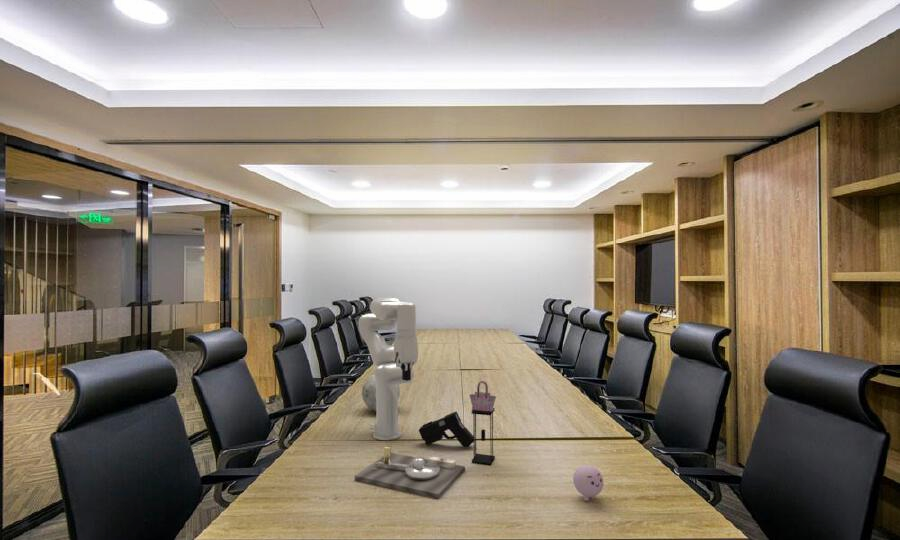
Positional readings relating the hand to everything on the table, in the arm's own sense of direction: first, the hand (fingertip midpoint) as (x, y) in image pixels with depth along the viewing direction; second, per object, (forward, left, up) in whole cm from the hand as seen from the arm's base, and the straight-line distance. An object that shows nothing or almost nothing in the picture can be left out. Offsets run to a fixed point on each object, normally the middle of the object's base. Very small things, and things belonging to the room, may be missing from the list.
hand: (406, 379), depth 171 cm
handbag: (+30, +6, -29) cm, 42 cm away
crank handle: (+10, -16, -27) cm, 33 cm away
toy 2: (+70, -8, -29) cm, 76 cm away
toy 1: (+11, +14, -29) cm, 34 cm away
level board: (+11, -16, -29) cm, 35 cm away
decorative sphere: (-41, +44, -29) cm, 67 cm away
